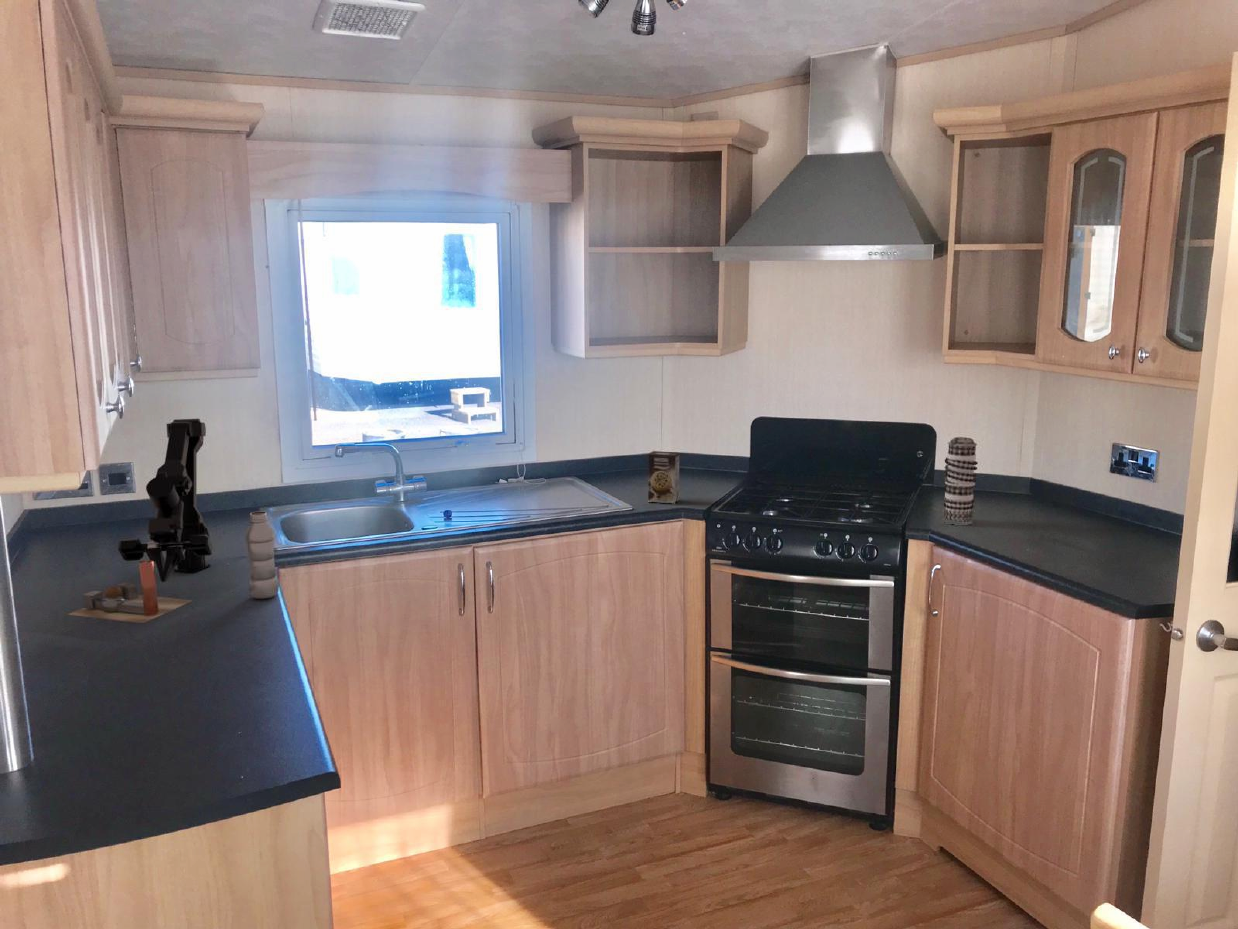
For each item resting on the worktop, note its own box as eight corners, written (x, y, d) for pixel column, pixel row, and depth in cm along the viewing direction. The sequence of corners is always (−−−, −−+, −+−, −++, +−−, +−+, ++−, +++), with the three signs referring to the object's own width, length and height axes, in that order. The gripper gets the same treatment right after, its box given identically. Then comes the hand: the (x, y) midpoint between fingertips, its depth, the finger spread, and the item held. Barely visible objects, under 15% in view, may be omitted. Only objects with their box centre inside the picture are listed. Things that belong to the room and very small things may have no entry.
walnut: (114, 598, 224) (112, 583, 223) (127, 599, 223) (125, 584, 222) (101, 603, 220) (100, 588, 220) (114, 604, 219) (113, 589, 219)
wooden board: (121, 597, 228) (119, 580, 227) (193, 605, 222) (191, 587, 221) (68, 619, 214) (66, 601, 213) (143, 628, 208) (141, 609, 207)
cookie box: (647, 503, 317) (647, 453, 314) (652, 498, 323) (652, 450, 320) (675, 504, 314) (675, 455, 311) (679, 500, 320) (679, 451, 317)
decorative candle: (938, 524, 288) (943, 439, 283) (944, 517, 296) (948, 435, 291) (971, 527, 284) (976, 442, 279) (976, 520, 292) (981, 437, 287)
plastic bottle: (248, 603, 223) (241, 517, 220) (251, 594, 230) (244, 510, 226) (278, 600, 225) (272, 515, 221) (280, 591, 232) (274, 508, 228)
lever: (81, 609, 216) (75, 558, 213) (97, 602, 220) (91, 553, 218) (149, 616, 210) (144, 565, 208) (164, 610, 215) (159, 559, 212)
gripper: (115, 504, 218) (107, 567, 210) (205, 499, 222) (200, 561, 214) (128, 529, 228) (121, 590, 219) (214, 524, 232) (210, 584, 224)
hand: (163, 581), depth 219 cm, fingers closed
